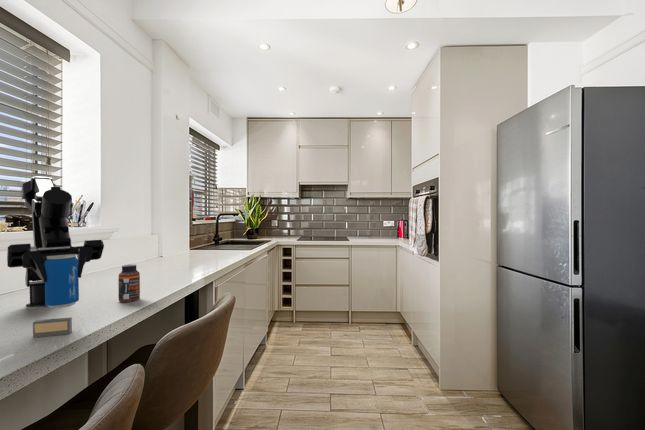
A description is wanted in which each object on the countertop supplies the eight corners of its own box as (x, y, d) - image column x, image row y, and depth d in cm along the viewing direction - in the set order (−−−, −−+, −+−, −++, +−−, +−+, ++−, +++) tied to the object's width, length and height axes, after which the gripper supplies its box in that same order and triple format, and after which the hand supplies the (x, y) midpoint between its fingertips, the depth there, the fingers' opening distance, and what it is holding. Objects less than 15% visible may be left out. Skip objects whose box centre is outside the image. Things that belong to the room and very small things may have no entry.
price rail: (32, 337, 74) (32, 322, 74) (36, 335, 75) (35, 320, 75) (69, 334, 76) (69, 319, 76) (71, 332, 77) (71, 317, 77)
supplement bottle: (130, 303, 102) (129, 267, 102) (113, 302, 103) (113, 266, 103) (144, 298, 108) (143, 264, 107) (128, 297, 109) (128, 263, 109)
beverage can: (60, 309, 77) (59, 258, 76) (38, 308, 78) (36, 258, 77) (85, 302, 83) (84, 254, 83) (64, 300, 84) (63, 254, 84)
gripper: (92, 248, 97) (102, 291, 90) (4, 254, 84) (8, 305, 76) (98, 222, 92) (110, 266, 84) (6, 224, 78) (10, 277, 71)
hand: (63, 278), depth 79 cm, fingers closed on beverage can, 6 cm apart
